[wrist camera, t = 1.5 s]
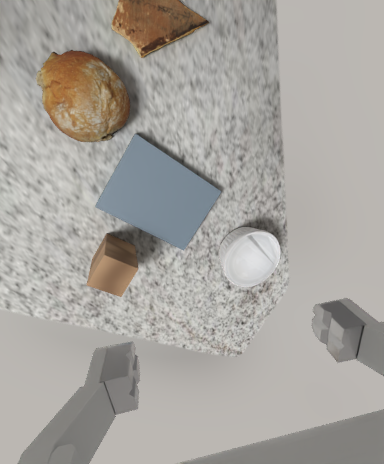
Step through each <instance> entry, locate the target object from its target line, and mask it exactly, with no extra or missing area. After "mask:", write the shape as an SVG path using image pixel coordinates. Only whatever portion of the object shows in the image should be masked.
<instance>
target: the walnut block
mask: <svg viewBox="0 0 384 464" xmlns="http://www.w3.org/2000/svg"><path fill="white" fill-rule="evenodd" d="M137 270H138V263H137V257H136V250H135V246H134V245H132V244H130V243H128V242H125V241H123V240H121V239H119V238H116V237H114V236H112V235H110V234H108V233H107V234H106V236H105V237H104V239H103V241H102V243H101V244H100V246H99V248H98V250H97V251H96V253H95V255H94V257H93V259H92V263H91V268H90V272H89V277H88V281H87V285H88V286H90V287H93V288H96V289H99V290H102V291H105V292H108V293H111V294H114V295H117V296H120V297H121V296H122V295H123V293H124V291H125V290H126V288H127V287H128V285H129V283H130V282H131V280H132V278H133V277H134V275H135V274H136V272H137Z"/></svg>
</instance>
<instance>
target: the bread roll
mask: <svg viewBox="0 0 384 464" xmlns="http://www.w3.org/2000/svg"><path fill="white" fill-rule="evenodd" d="M43 65H44V66H43V68H41V71H38V73H37V77H36V80H37V83H38V85H39V86H41V87H42V91H43V95H42V102H43V105H44V109H45V110H46V111H47V113H48V114H49V116H50V118H51V120H52V121H53V123H54V124H55V125H56V126H57V127H58V128H59V129H60V130H61V131H62V132H63V133H65V134H66V135H68V136H69V137H71V138H73V139H75V140H78V141H81V142H99V141H106V140H110V139H111V138H112V137H113V136H112V134H114V133H115V132H117V131H118V129H121V128H122V127H123V126H124V124H125V123H126V121H127V119H128V117H129V112H130V101H129V96H128V93H127V91H126V88H125V86H124V84H123V82H122V81H121V79H120V78H119V77H118V76H117V74H116V73H115V72H114V71H113V70H112V69H111V68H110V67H109V66H107V65H106V64H105V63H104V62H103V61H101V60H100V59H99V58H97V57H95V56H93V55H91V54H88V53H85V52H81V51H73V50H71V51H69V52H68V51H67V52H65V53H63V54H62V55H58V54H57V53H55V52H52V53H51V55H50V57H49V58H48V60H47V61H46V62H45V63H43Z"/></svg>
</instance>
